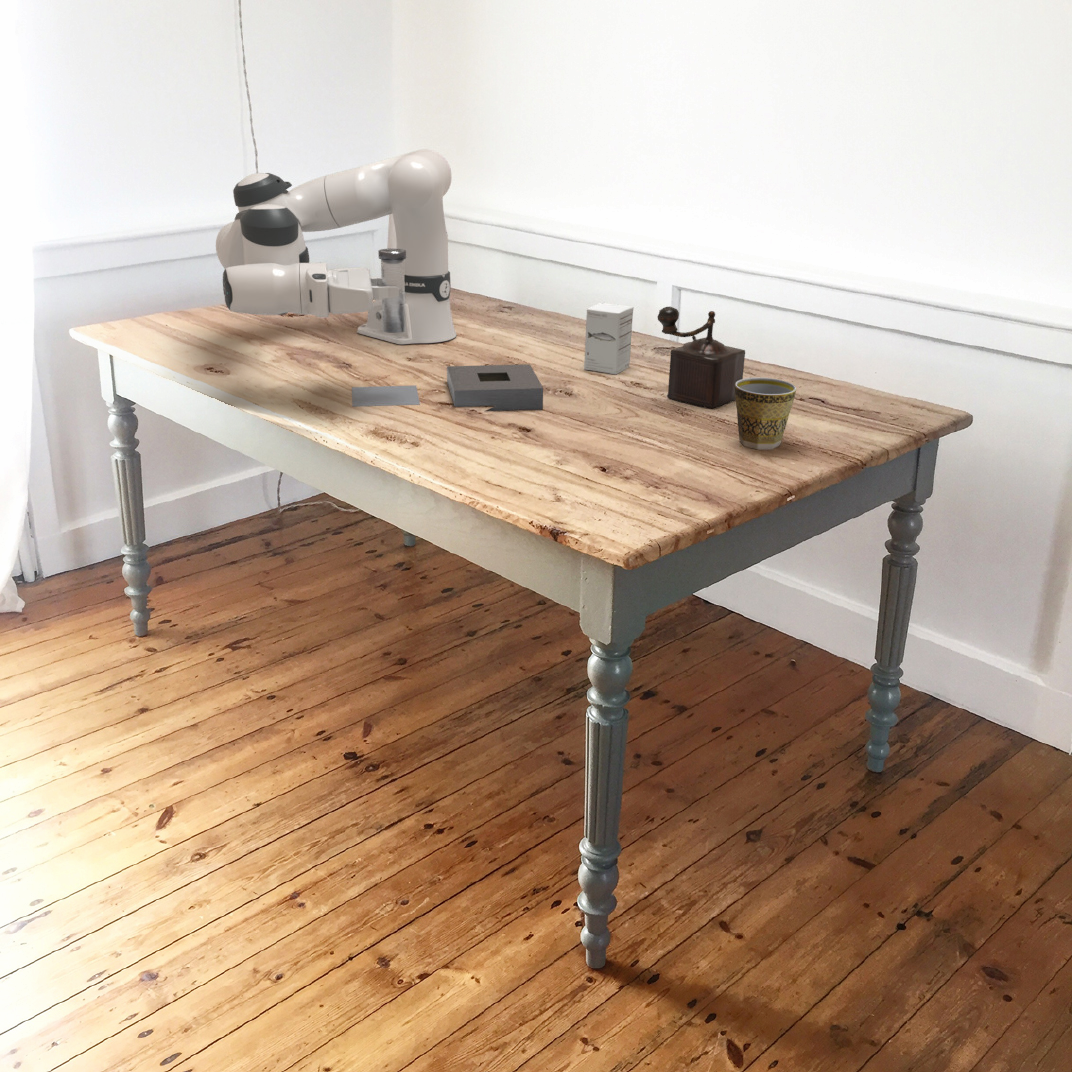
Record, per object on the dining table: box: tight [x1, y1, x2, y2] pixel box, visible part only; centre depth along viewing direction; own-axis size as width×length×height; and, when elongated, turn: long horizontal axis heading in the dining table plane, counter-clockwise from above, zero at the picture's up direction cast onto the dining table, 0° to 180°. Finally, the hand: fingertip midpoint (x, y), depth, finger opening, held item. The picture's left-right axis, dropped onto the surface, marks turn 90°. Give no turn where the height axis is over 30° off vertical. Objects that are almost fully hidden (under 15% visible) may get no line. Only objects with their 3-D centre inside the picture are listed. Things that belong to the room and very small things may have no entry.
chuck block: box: [446, 363, 544, 412], centre depth 213 cm, size 16×16×4 cm
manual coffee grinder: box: [657, 306, 746, 410], centre depth 211 cm, size 16×11×18 cm
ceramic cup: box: [734, 377, 797, 451], centre depth 192 cm, size 13×10×10 cm
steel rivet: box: [377, 248, 406, 333], centre depth 203 cm, size 5×5×14 cm
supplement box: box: [583, 302, 634, 376], centre depth 231 cm, size 7×7×13 cm
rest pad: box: [351, 385, 421, 408], centre depth 211 cm, size 12×12×1 cm
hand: (397, 288), depth 203 cm, fingers closed on steel rivet, 4 cm apart
